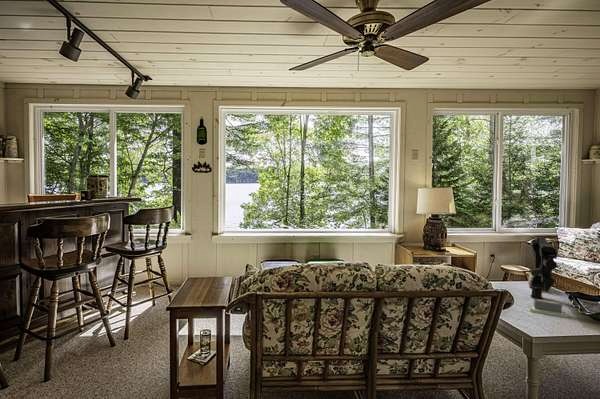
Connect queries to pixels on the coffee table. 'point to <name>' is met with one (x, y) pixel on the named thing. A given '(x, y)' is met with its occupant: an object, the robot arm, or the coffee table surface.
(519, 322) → the coffee table surface
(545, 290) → the robot arm
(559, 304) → the panel
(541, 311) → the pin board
